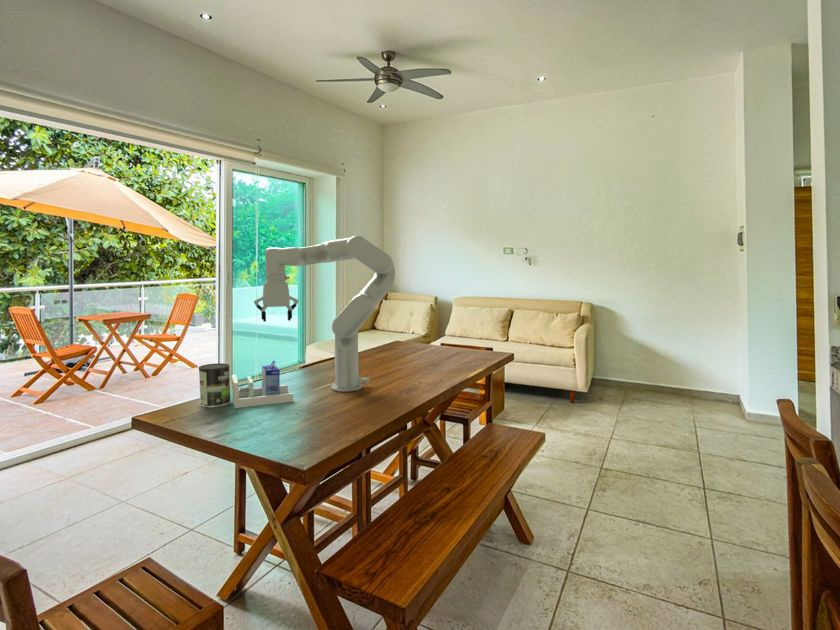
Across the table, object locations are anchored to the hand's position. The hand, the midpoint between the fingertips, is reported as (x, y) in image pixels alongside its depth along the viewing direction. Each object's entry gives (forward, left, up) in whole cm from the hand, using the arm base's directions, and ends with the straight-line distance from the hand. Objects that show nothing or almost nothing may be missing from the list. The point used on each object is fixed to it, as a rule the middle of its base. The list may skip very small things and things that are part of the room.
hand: (277, 320), depth 187 cm
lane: (+7, +13, -28) cm, 32 cm away
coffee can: (+24, +12, -28) cm, 39 cm away
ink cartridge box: (+5, +13, -29) cm, 32 cm away
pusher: (+13, +14, -28) cm, 34 cm away
